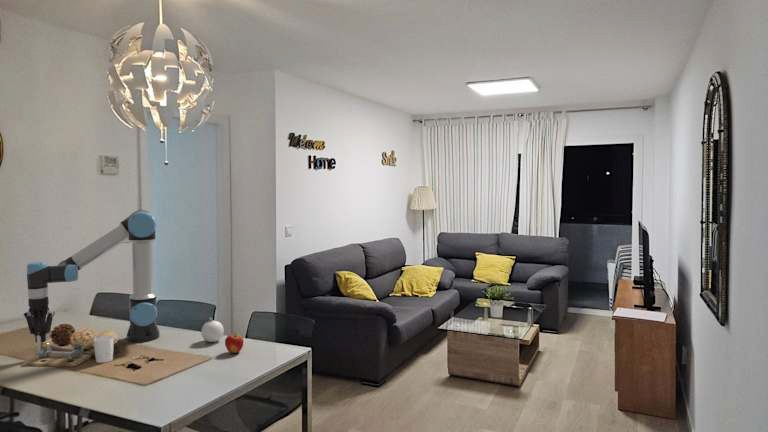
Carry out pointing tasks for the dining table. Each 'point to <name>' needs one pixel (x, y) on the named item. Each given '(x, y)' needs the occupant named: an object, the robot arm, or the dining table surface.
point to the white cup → (104, 348)
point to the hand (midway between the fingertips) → (41, 349)
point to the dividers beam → (68, 353)
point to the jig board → (55, 361)
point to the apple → (234, 343)
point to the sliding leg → (43, 350)
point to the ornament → (212, 331)
